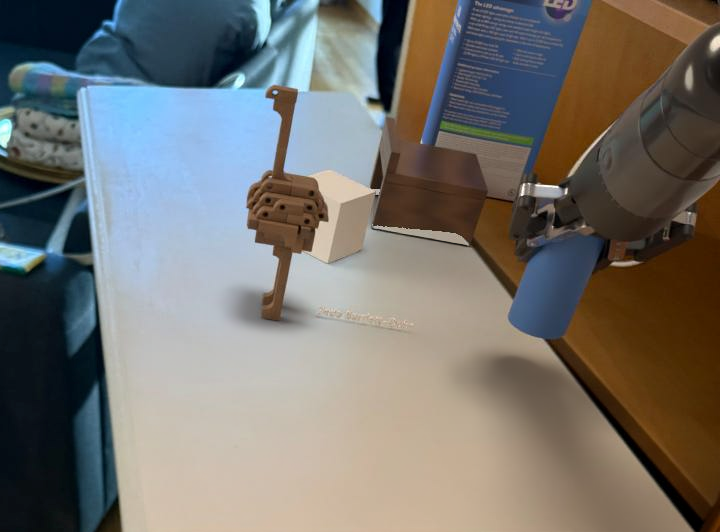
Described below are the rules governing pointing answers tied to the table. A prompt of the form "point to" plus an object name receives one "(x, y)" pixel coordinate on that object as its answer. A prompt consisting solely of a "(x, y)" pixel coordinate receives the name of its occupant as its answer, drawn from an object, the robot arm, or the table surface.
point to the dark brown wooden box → (426, 186)
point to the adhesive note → (341, 216)
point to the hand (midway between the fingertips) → (555, 256)
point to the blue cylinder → (554, 286)
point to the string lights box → (503, 83)
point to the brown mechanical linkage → (288, 211)
